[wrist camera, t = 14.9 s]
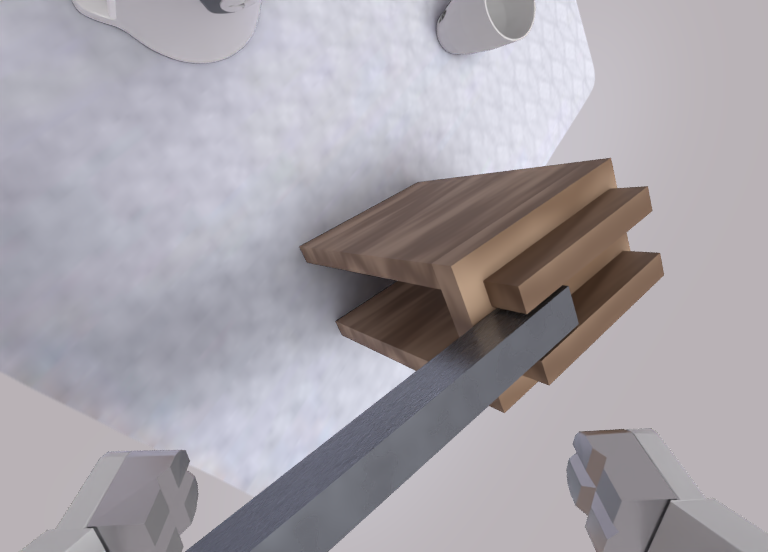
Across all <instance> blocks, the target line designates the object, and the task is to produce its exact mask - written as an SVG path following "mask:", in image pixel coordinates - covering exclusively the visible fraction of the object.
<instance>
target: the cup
mask: <svg viewBox="0 0 768 552" xmlns="http://www.w3.org/2000/svg"><path fill="white" fill-rule="evenodd" d="M535 11H536V5H535V0H452V1H451V2H450V3H449V5H448V6H447V7H446V9H445V10H444V12H443V13H442V15H441V16H440V17H439V19H438V22H437V37H438V40H439V42H440V44H441V46H442V47H443V48H444V49H445V50H446V51H447V52H449V53H451V54H472V53H477V52H483V51H488V50H492V49H495V48H498V47H501V46H504V45H507V44H510V43H513V42H515V41H518V40H521V39H523V38H524V37H526V36H527V34H528V33H529V32H530V30H531V28H532V26H533V23H534V19H535Z"/></svg>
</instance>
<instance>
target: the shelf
mask: <svg viewBox="0 0 768 552" xmlns="http://www.w3.org/2000/svg"><path fill="white" fill-rule="evenodd" d="M651 211H652V207H651V201H650V196H649V190H648V186H646V187H630V188H617V185H616V181H615V175H614V170H613V166H612V161H611V158H606V159H598V160H590V161H582V162H574V163H567V164H558V165H550V166H543V167H535V168H527V169H519V170H511V171H503V172H495V173H487V174H479V175H471V176H464V177H456V178H448V179H440V180H432V181H424V182H417V183H416V184H414V185H412V186H410V187H408V188H406V189H405V190H403V191H401V192H399V193H397V194H395V195H394V196H392V197H390V198H388V199H386V200H384V201H382V202H381V203H379V204H377V205H375V206H373V207H371V208H370V209H368V210H366V211H364V212H362V213H360V214H359V215H357V216H355V217H353V218H351V219H349V220H347V221H346V222H344V223H342V224H340V225H338V226H336V227H335V228H333V229H331V230H329V231H327V232H325V233H324V234H322V235H320V236H318V237H316V238H314V239H312V240H311V241H309V242H307V243H305V244H303V245H301V246H300V249H301V251H302V253H303V256H304V258H305V260H306V262H307V263H312V264H317V265H322V266H327V267H332V268H337V269H342V270H347V271H352V272H357V273H362V274H367V275H372V276H377V277H381V278H386V279H391V280H396V281H397V282H395V283H394V284H392V285H391V286H389V287H388V288H386V289H384V290H383V291H381V292H380V293H378V294H377V295H375V296H374V297H372V298H371V299H369V300H368V301H366V302H365V303H363V304H361V305H360V306H358V307H357V308H355V309H354V310H352V311H351V312H349V313H348V314H346V315H345V316H343V317H341V318H340V319H338V320H337V321H336V324H337V326H338V328H339V330H340V332H341V334H342V335H343V336H345V337H347V338H349V339H351V340H353V341H355V342H357V343H359V344H361V345H364V346H366V347H368V348H370V349H372V350H374V351H376V352H378V353H380V354H382V355H384V356H387V357H389V358H391V359H393V360H395V361H397V362H399V363H401V364H403V365H405V366H407V367H409V368H412V369H414V370H416V371H417V370H418V369H420V368H421V367H422V366H424V365H425V364H426V363H427V362H429V361H430V360H431V359H432V358H434V357H435V356H436V355H438V354H439V353H440V352H441V351H443V350H444V349H445V348H447V347H448V346H449V345H450V344H452V343H453V342H454V341H456V340H457V339H458V338H459V337H461V336H462V335H463V334H465V333H466V332H467V331H468V330H470V329H471V328H472V327H473V326H475V325H476V324H477V323H479V322H480V321H481V320H482V319H484V318H485V317H486V316H488V315H489V314H490V313H491V312H493V311H494V310H495V309H497V308H501V309H505V310H510V311H515V312H519V313H524V314H528V313H529V312H530V311H531V310H533V309H534V308H535V307H536V306H538V305H539V304H540V303H541V302H542V301H544V300H545V299H546V298H547V297H548V296H550V295H551V294H552V293H553V292H555V291H556V290H557V289H558V288H559V287H561V286H562V285H565V286H569V289H570V293H571V297H572V300H573V304H574V308H575V312H576V315H577V319H578V323H579V324H578V325H577V326H576V327H575V328H574V329H573V330H572V331H571V332H569V333H568V334H567V335H566V336H565V337H564V338H563V339H562V340H561V341H560V342H558V343H557V344H556V345H555V346H554V347H553V348H552V349H551V350H550V351H548V352H547V353H546V354H545V355H544V356H543V357H542V358H541V359H540V360H539V361H537V362H536V363H535V364H534V365H533V366H532V367H531V368H530V369H529V370H528V371H526V372H525V373H524V374H523V375H522V376H521V377H520V378H519V379H518V380H517V381H515V382H514V383H513V384H512V385H511V386H510V387H509V388H508V389H507V390H506V391H504V392H503V393H502V394H501V395H500V396H499V397H498V398H497V399H496V400H495V401H493V402H492V403H491V404H490V405H489V406H491V407H493V408H495V409H497V410H499V411H501V412H503V413H505V412H506V411H507V410H508V409H509V408H510V407H511V406H512V405H514V404H515V403H516V402H517V401H518V400H519V399H520V398H521V397H522V396H523V395H524V394H525V393H526V392H527V391H529V389H531V388H532V387H533V386H534V385H535V384H536V383H537V382H538V381H539V382H541V383H544V384H547V385H550V384H551V383H552V382H553V381H554V380H555V379H556V378H557V377H558V376H559V375H561V374H562V373H563V372H564V371H565V370H566V368H568V367H569V366H570V365H571V364H572V363H573V362H574V361H575V360H576V359H577V358H578V357H579V356H580V355H581V354H582V353H583V352H584V351H586V350H587V349H588V348H589V347H590V346H591V345H592V344H593V343H594V342H595V341H596V340H597V339H598V338H599V337H600V336H601V335H602V334H603V333H604V332H605V331H606V330H607V329H608V328H609V327H611V326H612V325H613V323H615V322H616V321H617V320H618V319H619V318H620V317H621V316H622V315H623V314H624V313H625V312H626V311H627V310H628V309H629V308H630V307H631V306H632V305H633V304H634V303H635V302H637V300H639V299H640V298H641V297H642V296H643V295H644V294H645V293H646V292H647V291H648V290H649V289H650V288H651V287H652V286H653V285H654V284H655V283H656V282H657V281H658V280H659V279H660V278H661V277H662V276H664V272H663V267H662V261H661V256H660V253H652V252H651V253H650V252H635V251H630V247H629V242H628V237H627V233H626V232H627V231H628V230H630V229H631V228H632V227H633V226H635V225H636V224H637V223H638V222H639V221H641V220H642V219H643V218H644V217H646V216H647V215H648V214H649V213H650V212H651Z"/></svg>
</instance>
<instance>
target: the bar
mask: <svg viewBox="0 0 768 552" xmlns="http://www.w3.org/2000/svg"><path fill="white" fill-rule="evenodd" d="M578 324H579V323H578V319H577V315H576V312H575V308H574V304H573V300H572V297H571V293H570V289H569V286H565V285H562V286H561V287H559V288H558V289H557V290H556V291H555V292H553V293H552V294H551V295H550V296H548V297H547V298H546V299H545V300H544V301H542V302H541V303H540V304H539V305H538V306H536V307H535V308H534V309H533V310H531V311H530V312H529V313H528V314H524V313H519V312H515V311H510V310H505V309H501V308H497V309H495V310H494V311H493V312H491V313H490V314H489V315H488V316H486V317H485V318H484V319H482V320H481V321H480V322H479V323H477V324H476V325H475V326H473V327H472V328H471V329H470V330H468V331H467V332H466V333H465V334H463V335H462V336H461V337H459V338H458V339H457V340H456V341H454V342H453V343H452V344H450V345H449V346H448V347H447V348H445V349H444V350H443V351H441V352H440V353H439V354H438V355H436V356H435V357H434V358H432V359H431V360H430V361H429V362H427V363H426V364H425V365H424V366H422V367H421V368H420V369H418V370H417V371H416V372H415V373H413V374H412V375H411V376H409V377H408V378H407V379H406V380H404V381H403V382H402V383H400V384H399V385H398V386H397V387H395V388H394V389H393V390H392V391H390V392H389V393H388V394H386V395H385V396H384V397H383V398H381V399H380V400H379V401H377V402H376V403H375V404H374V405H372V406H371V407H370V408H368V409H367V410H366V411H365V412H363V413H362V414H361V415H359V416H358V417H357V418H356V419H354V420H353V421H352V422H351V423H349V424H348V425H347V426H345V427H344V428H343V429H342V430H340V431H339V432H338V433H336V434H335V435H334V436H333V437H331V438H330V439H329V440H327V441H326V442H325V443H324V444H322V445H321V446H320V447H318V448H317V449H316V450H315V451H313V452H312V453H311V454H310V455H308V456H307V457H306V458H304V459H303V460H302V461H301V462H299V463H298V464H297V465H295V466H294V467H293V468H292V469H290V470H289V471H288V472H286V473H285V474H284V475H283V476H281V477H280V478H279V479H278V480H276V481H275V482H274V483H272V484H271V485H270V486H269V487H267V488H266V489H265V490H263V491H262V492H261V493H260V494H258V495H257V496H256V497H254V498H253V499H252V500H251V501H249V502H248V503H247V504H245V505H244V506H243V507H242V508H240V509H239V510H238V511H237V512H235V513H234V514H233V515H231V516H230V517H229V518H228V519H226V520H225V521H224V522H222V523H221V524H220V525H219V526H217V527H216V528H215V529H213V530H212V531H211V532H210V533H208V534H207V535H206V536H205V537H203V538H202V539H201V540H199V541H198V542H197V543H196V544H194V545H193V546H192V547H191V548H189V549H188V550H187V551H185V552H328V551H329V550H330V549H331V548H333V547H334V546H335V545H336V544H337V543H338V542H339V541H340V540H341V539H342V538H344V537H345V536H346V535H347V534H348V533H349V532H350V531H351V530H352V529H353V528H355V526H357V525H358V524H359V523H360V522H361V521H362V520H363V519H364V518H366V517H367V516H368V515H369V514H370V513H371V512H372V511H373V510H374V509H375V508H376V507H378V506H379V505H380V504H381V503H382V502H383V501H384V500H385V499H387V498H388V497H389V496H390V495H391V494H392V493H393V492H394V491H395V490H396V489H398V488H399V487H400V486H401V485H402V484H403V483H404V482H405V481H406V480H407V479H409V478H410V477H411V476H412V475H413V474H414V473H415V472H416V471H417V470H418V469H419V468H421V467H422V466H423V465H424V464H425V463H426V462H427V461H428V460H429V459H430V458H432V457H433V456H434V455H435V454H436V453H437V452H438V451H439V450H441V449H442V448H443V447H444V446H445V445H446V444H447V443H448V442H449V441H450V440H451V439H452V438H454V437H455V436H456V435H457V434H458V433H459V432H460V431H461V430H463V428H465V427H466V426H467V425H468V424H469V423H470V422H471V421H472V420H473V419H475V418H476V417H477V416H478V415H479V414H480V413H481V412H482V411H483V410H485V409H486V408H487V407H488V406H489V405H490V404H491V403H492V402H493V401H495V400H496V399H497V398H498V397H499V396H500V395H501V394H502V393H503V392H504V391H506V390H507V389H508V388H509V387H510V386H511V385H512V384H513V383H514V382H515V381H517V380H518V379H519V378H520V377H521V376H522V375H523V374H524V373H525V372H526V371H528V370H529V369H530V368H531V367H532V366H533V365H534V364H535V363H536V362H537V361H539V360H540V359H541V358H542V357H543V356H544V355H545V354H546V353H547V352H548V351H550V350H551V349H552V348H553V347H554V346H555V345H556V344H557V343H558V342H560V341H561V340H562V339H563V338H564V337H565V336H566V335H567V334H568V333H569V332H571V331H572V330H573V329H574V328H575V327H576V326H577V325H578Z"/></svg>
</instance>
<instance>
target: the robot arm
mask: <svg viewBox="0 0 768 552" xmlns="http://www.w3.org/2000/svg"><path fill="white" fill-rule="evenodd" d="M72 2H73V4H74V6H75V7H76V9H77V10H78V11H79V12H81V13H82V14H83V15H85V16H87V17H89V18H91V19H94V20H97V21H99V22H102V23H106V24H109V25H112V26H116V27H118V28H120V29H122V30H124V31H125V32H127V33H128V34H130V35H131V36H133V37H134V38H135V39H137V40H138V41H140V42H141V43H142V44H144V45H145V46H147V47H149V48H150V49H152V50H154V51H156V52H158V53H160V54H162V55H164V56H167V57H169V58H172V59H175V60H179V61H184V62H189V63H211V62H217V61H220V60H223V59H226V58H228V57H230V56H232V55H234V54H235V53H237V52H238V51H240V50H241V49H242V48H243V47H244V46H245V45H246V44H247V42H248V41H249V40H250V38H251V37H252V35H253V33H254V31H255V29H256V26H257V23H258V20H259V15H260V8H261V3H262V0H72ZM573 446H574V448H575V450H576V454H574V455H573V456H572V457H571V458H569V461H568V466H567V481H568V486H569V490H570V493H571V496H572V498H573V501H574V503H575V505H576V506H577V507H578V508H579V509H580V510H581V511H583V512H584V513H585V514H586V515H587V516H588V517H587V521H586V525H585V528H586V530H587V532H588V535H589V537H590V539H591V541H592V543H593V546H594V548H595V550H596V552H768V533H766V532H765V531H763V530H762V529H760V528H759V527H757V526H756V525H754V524H753V523H751V522H749V521H748V520H747V519H745V518H743V517H742V516H740V515H739V514H737V513H736V512H734V511H733V510H731V509H730V508H728V507H727V506H725V505H723V504H722V503H720V502H719V501H717V500H716V499H714V498H711V499H709V498H706V497H705V496H704V495H703V493H702V492H701V491H700V489H699V488H698V486H697V485H696V484H695V482H694V481H693V480H692V478H691V477H690V476H689V474H688V473H687V472H686V470H685V469H684V468H683V466H682V465H681V464H680V462H679V461H678V459H677V458H676V457H675V455H674V454H673V453H672V452H671V450H670V449H669V447H668V446H667V445H666V443H665V442H664V441H663V440H662V438H661V437H660V435H659V434H658V433H657V432H656V431H655V430H653V429H652V428H646V429H627V430H624V429H618V430H599V431H583V432H579V433H577V434H576V435H575V438H574V441H573ZM189 462H190V460H189V458H188V455H187V453H186V450H152V451H116V452H107V453H106V454H105V455H103V456H102V457H101V458H100V459H99V460H98V462H97V464H96V465H95V467H94V468H93V470H92V471H91V473H90V475H89V476H88V478H87V479H86V481H85V483H84V484H83V486H82V487H81V489H80V491H79V492H78V494H77V495H76V497H75V499H74V500H73V502H72V503H71V505H70V507H69V508H68V510H67V512H66V513H65V515H64V516H63V518H62V519H61V521H60V522H59V524H58V526H57V527H56V529H55V530H46V531H45V532H44V533H43V534H41V535H40V536H39V537H37V538H36V539H35V540H33V541H32V542H31V543H30V544H28V545H27V546H26V547H24V548H23V549H22V550H20V551H19V552H182V549H183V544H182V541H181V538H180V534H182V532H184V531H185V530H186V529H187V528H188V527H189V526H190V525H191V523H192V521H193V518H194V515H195V512H196V507H197V500H198V485H197V481H196V478H195V476H194V475H193V474H191V473H190V472H189V471H187V467H188V465H189Z"/></svg>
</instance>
